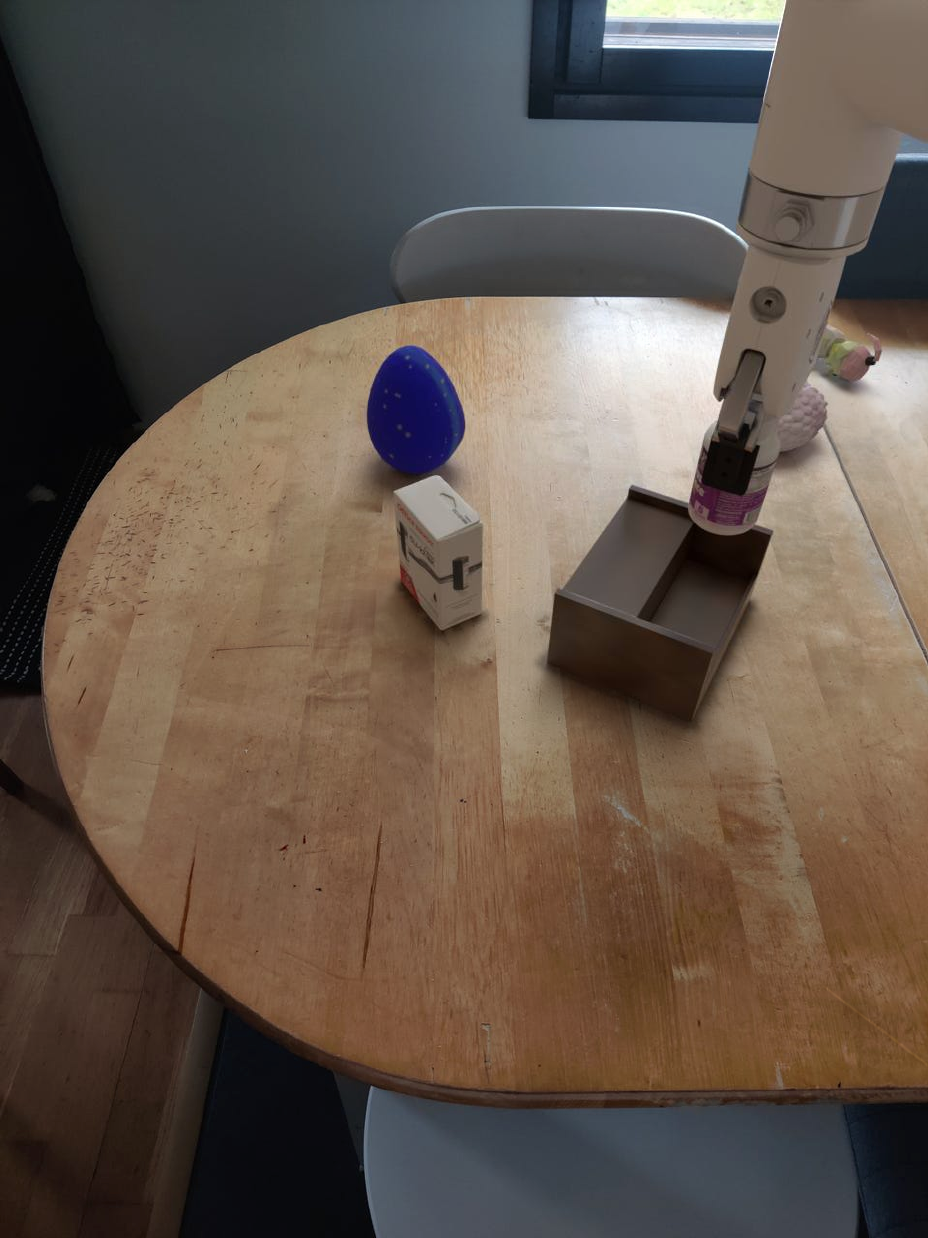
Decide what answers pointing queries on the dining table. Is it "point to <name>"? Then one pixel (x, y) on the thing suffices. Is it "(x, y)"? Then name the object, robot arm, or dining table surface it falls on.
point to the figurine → (847, 355)
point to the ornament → (414, 412)
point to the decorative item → (802, 419)
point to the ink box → (440, 550)
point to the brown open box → (655, 603)
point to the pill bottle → (725, 508)
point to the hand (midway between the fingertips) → (736, 463)
